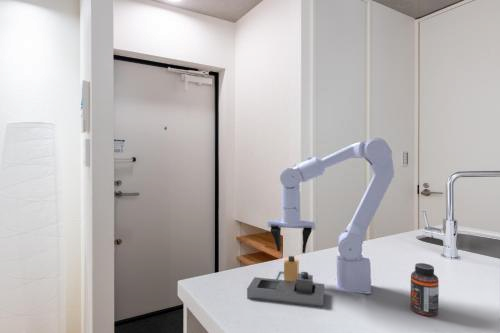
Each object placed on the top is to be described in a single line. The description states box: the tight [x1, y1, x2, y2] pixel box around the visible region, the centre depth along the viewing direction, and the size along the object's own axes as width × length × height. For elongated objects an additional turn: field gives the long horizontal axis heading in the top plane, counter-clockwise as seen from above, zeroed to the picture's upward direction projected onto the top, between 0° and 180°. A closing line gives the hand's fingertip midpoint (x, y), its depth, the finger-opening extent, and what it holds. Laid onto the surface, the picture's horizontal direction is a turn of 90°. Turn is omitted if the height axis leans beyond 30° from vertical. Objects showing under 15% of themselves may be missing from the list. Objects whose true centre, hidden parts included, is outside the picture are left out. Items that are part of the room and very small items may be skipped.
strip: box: [246, 276, 325, 308], centre depth 82 cm, size 20×8×3 cm, turn 75°
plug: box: [283, 255, 300, 281], centre depth 92 cm, size 4×4×7 cm
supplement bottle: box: [410, 262, 440, 317], centre depth 74 cm, size 6×6×11 cm
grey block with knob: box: [296, 271, 314, 294], centre depth 80 cm, size 4×4×7 cm
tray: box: [273, 270, 311, 280], centre depth 92 cm, size 11×11×1 cm
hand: (291, 251), depth 92 cm, fingers open, 7 cm apart
